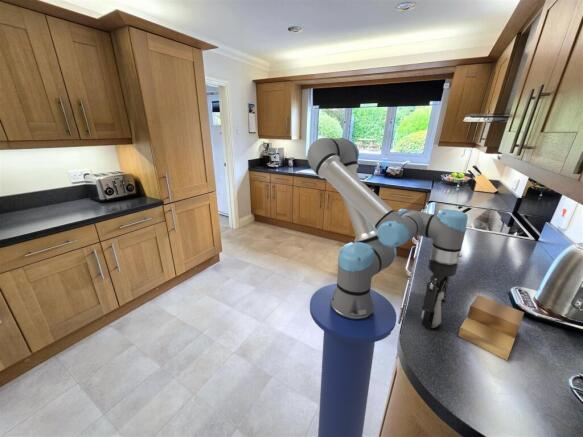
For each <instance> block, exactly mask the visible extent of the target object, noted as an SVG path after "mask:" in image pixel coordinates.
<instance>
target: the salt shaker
mask: <svg viewBox="0 0 583 437" xmlns="http://www.w3.org/2000/svg"><path fill="white" fill-rule="evenodd" d="M437 289H438V288H437ZM443 298H444V293H443V291H442V292H440V293H439V295H438V299H437V302H436V305H435V308H434V311H435V313H434V318H433V322H432V327H431V329H434V328H437V327H438V326H439V325H440V324H442V307H441V303H442V302H441V300H442V299H443ZM444 299H445V298H444ZM423 316H424V310H422V312H421V321H423Z"/></svg>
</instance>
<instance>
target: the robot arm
mask: <svg viewBox="0 0 583 437" xmlns="http://www.w3.org/2000/svg"><path fill="white" fill-rule="evenodd" d="M306 156H307V163H308V165H309V167H310V169H311V170H312V171H313V172H314V173H315V174H316V175H317V176H318V177H319V178H320V179H325V180H326V181H327V182H328V183H329V184H330V186H332V187H333V188H334V189H335V190H336V191H337V192H338V193H339V194H340V195H341V199H342V201H343V203H344V207H345V209H346V212H347V215H348V217H349V220H350V223H351V225H352V228H353V231H354V233H355V238H354V240H353V242H349V243H346V244H344V245H343V246H341V248H340V249H339V253H338V257H337V262H338V263H337V279H336V284H337V286H336V288H335V290H334V293H333V295H332V297H331V308H332V310H333V311H334V312H335V313H336V314H337V315H339V316H341V317H343V318H345V319H348V320H355V321H359V320H365V319H367V318H369V317H370V316H371V315H372V314H373V309H374V305H373V301H372V296H371V292H370V289H371V288H372V287H371V285H372V279H373V277H375V276H376V275H377V274H379V273H380V272H382V271H383V270H385V269H387V268H389V267H390V266H391V265H392V264H393V263H394V262H395V260H396V257H397V247H399V246H402V245H404V244H406V243H407V242H409V241H410V240H412V239H413V238H415V237H417V236H419V237H423V238H428V239H432V244H431V248H430V253H429V256H430V257H429V259H428V265H427V269H428V270H429V271H430V272H431V273H432V275H431V276H430V279H429V281H430V282H429V281H428V282H427V283H426V290H425V296H424V299H423V304H422V306H421V308H422V311H423V310H424V316H423V320H421V326H423V327H425V328H428V329H430V330H431V329H432V328H431V327H432V322H433V318H434V313H435V311H434V308H435V305H436V302H437V299H438V295H439V293H440V292H442V291H443V293H444V298H443V299H442V300H441V308H442V307H443V304H445V303H446V302H447V300H446V299H445V298H447V292H448V288H449V282H450V279H451V277H453V276H455V275H456V274H457V269H458V265H459V264H458V263H459V259H460V258H462V257H463V254H462V253H461V251H462V248H463V243H464V240H465V235H466V232H467V225H468V219H469V218H468V215H467V214H466V213H465V212H463V211H460V210H456V209H444V208H443V209H440V210H438V212H437V214H433V213H428V212H423V211H418V210H414V209H407V208H400V209H398V211H397V212H396V210H394V208H392V207H391V206H390V205H388V204H387V203H386V202H385V201H384V200H383V199H382V198H381V197H380V196H378V194H376V193H375V192H374V191H373V190H372V189H371V188H369V187H368V186H367V184H365V183H364V182H363V181H362V180H361V179H360V177H359V174H358V169H359V164H358V161H359V156H360V151H359V148H358V145H357V144H356V143H355V142H354V141H353V140H351V139H348V138H345V137H338V138H335V137H321V138H318V139H316V140H314V141H313V142H312V143H310V145H309V147H308V150H307V154H306ZM437 288H438V289H437Z"/></svg>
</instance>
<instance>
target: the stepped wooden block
mask: <svg viewBox="0 0 583 437" xmlns="http://www.w3.org/2000/svg"><path fill="white" fill-rule="evenodd" d="M524 315H525V312H524V311H521V310H519V309H516V308H514V307H511V306H508V305H506V304H503V303H500V302H498V301H495V300H492V299H490V298H487V297H484V296H482V295H479V294H477V295H476V297H475V298H474V300H473V301H472V302H471V304H470V305H469V308H468V313H467V317H466V318H465V319H464V321H463V323H462V324H461V326H459V327H460V328H459V331H458V335H457V336H458V337H460V338H461V339H463V340H466V341H467V342H469V343H471V344H474V345H475V346H478V347H479V348H481V349H483V350H485V351H487V352H489V353H491V354H493V355H495V356H497V357H499V358H501V359H503V360H505V361H508V359H509V357H510V354H511V351H512V348H513V346H514V343H515V341H516V338H517V336H518V332H519V329H520V326H521V324H522V320H523V318H524Z"/></svg>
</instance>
